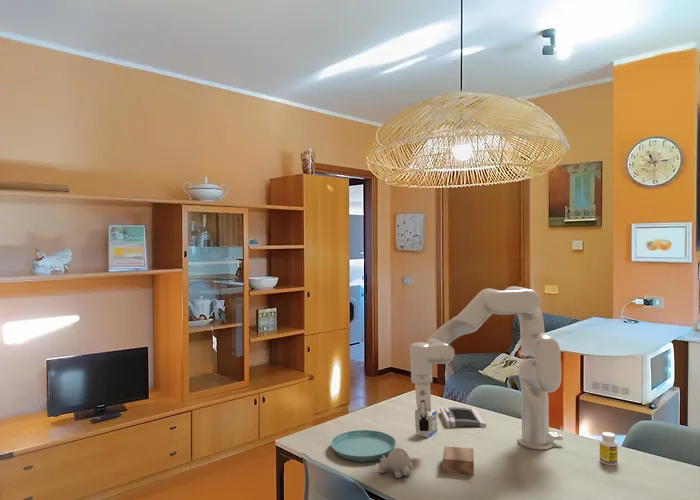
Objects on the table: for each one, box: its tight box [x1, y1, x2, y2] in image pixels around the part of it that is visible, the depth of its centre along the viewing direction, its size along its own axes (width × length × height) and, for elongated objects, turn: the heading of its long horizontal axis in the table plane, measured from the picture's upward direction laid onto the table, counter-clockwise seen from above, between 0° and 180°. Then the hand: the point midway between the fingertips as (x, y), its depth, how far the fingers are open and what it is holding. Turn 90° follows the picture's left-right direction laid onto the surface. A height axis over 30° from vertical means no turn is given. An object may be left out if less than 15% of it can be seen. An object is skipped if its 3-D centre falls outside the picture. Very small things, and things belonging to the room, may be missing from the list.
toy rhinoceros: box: [376, 447, 414, 479], centre depth 166 cm, size 7×12×8 cm, turn 65°
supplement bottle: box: [599, 431, 618, 466], centre depth 170 cm, size 5×5×10 cm
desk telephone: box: [439, 406, 487, 429], centre depth 212 cm, size 17×5×16 cm
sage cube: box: [414, 409, 433, 434], centre depth 179 cm, size 6×6×6 cm
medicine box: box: [418, 409, 438, 439], centre depth 198 cm, size 8×4×9 cm, turn 143°
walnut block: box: [442, 446, 475, 476], centre depth 169 cm, size 10×10×5 cm
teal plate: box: [330, 429, 397, 463], centre depth 185 cm, size 24×24×3 cm
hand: (424, 426), depth 179 cm, fingers closed on sage cube, 6 cm apart
